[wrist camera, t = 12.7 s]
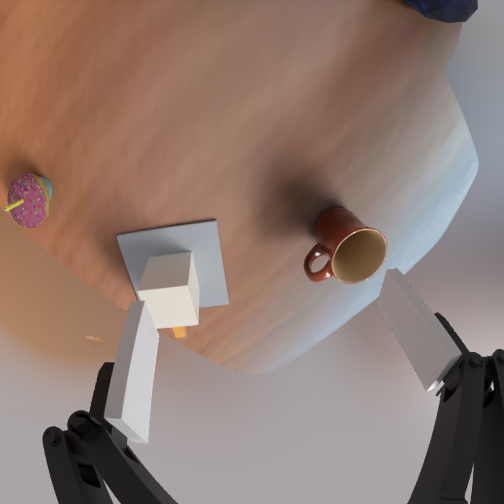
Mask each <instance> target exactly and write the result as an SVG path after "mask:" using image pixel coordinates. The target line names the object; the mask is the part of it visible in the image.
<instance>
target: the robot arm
mask: <svg viewBox="0 0 504 504" xmlns="http://www.w3.org/2000/svg"><path fill="white" fill-rule="evenodd" d="M377 308H378V309H379V311H380V312H381V314H382V315H383V317H384V319H385V320H386V322H387V324H388V325H389V327H390V328H391V330H392V332H393V333H394V335H395V337H396V338H397V340H398V342H399V344H400V345H401V347H402V349H403V350H404V352H405V354H406V356H407V357H408V359H409V360H410V362H411V364H412V366H413V368H414V370H415V372H416V373H417V375H418V377H419V379H420V381H421V383H422V385H423V386H424V388H425V390H426V391H429V390H431V389H433V388H435V387H437V386H438V384H439V383H440V382H441V381H442V380H443V382H444V385H443V386H442V387H441V388H440V390H439V391H438V392H437V394H436V396H438V395H439V394H440V393H441V396H440V397H441V398H440V403H439V408H438V412H437V417H436V421H435V426H434V430H433V433H432V437H431V441H430V444H429V447H428V451H427V454H426V457H425V460H424V463H423V466H422V469H421V472H420V475H419V477H418V480H417V482H416V485H415V487H414V490H413V492H412V495H411V497H410V500H409V502H408V503H407V504H468V502H467V501H466V500H465V497H464V496H465V492H466V489H467V486H468V482H469V479H470V475H471V471H472V467H473V463H474V471H473V484H472V494H471V502H470V504H504V350H502V349H497V350H496V351H495V352H494V353H493V355H492V356H487V357H481V356H480V355H479V354H477V353H476V352H469V351H468V349H467V348H466V346H465V345H464V343H463V342H462V341H461V339H460V338H459V336H458V335H457V334H456V332H454V329H453V328H452V327H451V326H450V324H449V323H448V321H447V320H446V319H445V318H444V317H443V316H442V315H440V314H439V313H433V312H432V311H431V310H430V308H429V307H428V306H427V304H426V303H425V302H424V300H423V299H422V298H421V297H420V295H419V294H418V293H417V292H416V290H415V289H414V288H413V287H412V285H411V284H410V283H409V282H408V281H407V279H406V278H405V277H404V276H403V274H402V273H401V272H400V271H399V270H398V269H397V268H395V269H390V270H387V271H386V274H385V278H384V282H383V285H382V289H381V292H380V296H379V299H378V302H377ZM158 341H159V334H158V332H157V329H156V327H155V324H154V322H153V320H152V317H151V315H150V312H149V310H148V307H147V305H146V302H145V300H144V301H132V302H131V305H130V308H129V312H128V315H127V318H126V322H125V326H124V329H123V333H122V336H121V340H120V344H119V348H118V352H117V356H116V360H115V363H112V362H105V363H104V364H103V366H102V367H101V369H100V370H99V373H98V377H97V382H96V385H95V390H94V393H93V398H92V402H91V407H90V412H89V413H88V412H86V411H84V410H79V411H76V412H74V413H73V414H72V415H71V416H70V418H69V419H68V423H67V427H68V430H66V431H62V430H61V429H60V428H57V427H55V426H53V427H49V428H47V429H46V430H45V432H44V434H43V447H44V451H45V456H46V461H47V465H48V469H49V473H50V477H51V480H52V484H53V487H54V490H55V494H56V497H57V500H58V503H59V504H113V502H112V500H111V498H110V495H109V493H108V491H107V488H106V486H105V483H104V481H105V482H106V484H107V485H108V487H109V488H110V490H111V491H112V492H113V494H114V495H115V497H116V498H117V499H118V501H119V502H120V503H121V504H178V503H177V502H176V501H175V500H174V499H173V498H172V497H171V496H170V495H169V494H168V493H167V492H166V491H165V490H164V489H163V488H162V486H161V485H160V484H159V483H158V482H157V481H156V480H155V479H154V478H153V476H152V475H151V474H150V473H149V472H148V470H147V469H146V468H145V467H144V466H143V464H142V463H141V462H140V460H139V459H138V458H137V457H136V455H135V454H134V453H133V451H132V450H131V449H130V447H129V446H128V445H127V438H128V439H129V440H131V441H132V442H139V443H148V433H149V421H150V409H151V398H152V388H153V379H154V371H155V363H156V355H157V348H158ZM492 385H493V386H494V390H493V391H492V388H491V386H492ZM103 479H104V481H103Z"/></svg>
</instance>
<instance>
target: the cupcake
mask: <svg viewBox="0 0 504 504" xmlns="http://www.w3.org/2000/svg"><path fill="white" fill-rule="evenodd" d="M7 197H8V200H7V201H8V206H6V207H5V209H3V210H5V211H8V210H9V211H10V212H11V214H12V216H13V218H14V219H15V221H16V222H18V223H19V225H20V224H21V225H22V226H24V227H28V228H35V227H38V226H39V225H40V224H41V223H42V222H43V221H44V220H45V218H46V217H47V216H48V214H49V205H50V200H51V198H52V186H51V184H50V182H49V181H48V180H47V179H46V178H45V177H38V176H37V175H35V174H34V173H24V174H22V175H20V176H19V177H17V178H16V179H15V180H14V181H13V182H12V184H11V185H10V187H9V192H8V196H7Z"/></svg>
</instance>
